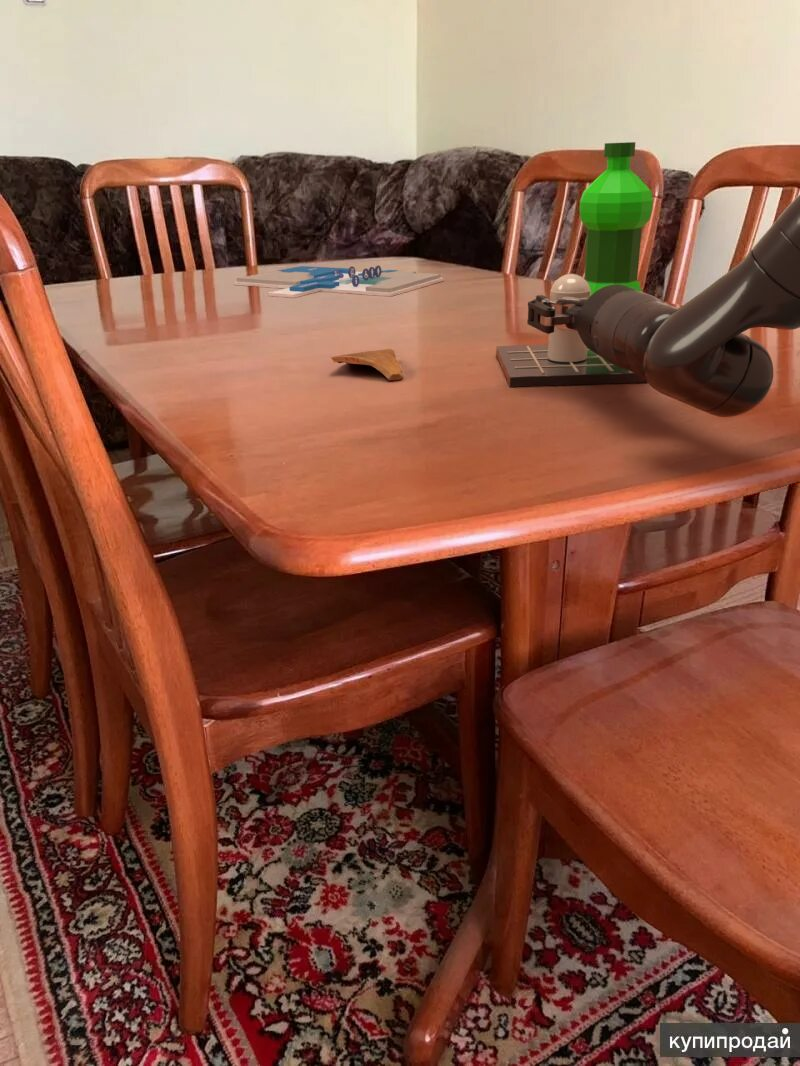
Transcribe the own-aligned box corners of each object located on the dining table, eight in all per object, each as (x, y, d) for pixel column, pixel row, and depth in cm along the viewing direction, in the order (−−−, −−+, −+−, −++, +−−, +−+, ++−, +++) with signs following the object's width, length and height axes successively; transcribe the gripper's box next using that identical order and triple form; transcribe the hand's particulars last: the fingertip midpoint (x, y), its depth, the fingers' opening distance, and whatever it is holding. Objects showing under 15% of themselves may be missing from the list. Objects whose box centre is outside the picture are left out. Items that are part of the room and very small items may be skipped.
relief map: (366, 303, 149) (365, 283, 148) (206, 290, 169) (204, 272, 168) (449, 279, 172) (449, 261, 170) (299, 270, 192) (298, 254, 190)
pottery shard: (400, 382, 100) (400, 362, 99) (326, 381, 101) (324, 361, 100) (413, 361, 109) (413, 342, 108) (345, 360, 110) (344, 341, 109)
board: (616, 351, 110) (617, 341, 110) (648, 382, 96) (649, 371, 95) (496, 354, 110) (496, 345, 110) (509, 387, 96) (510, 375, 95)
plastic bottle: (636, 315, 131) (650, 141, 121) (645, 328, 122) (662, 141, 111) (571, 315, 132) (580, 143, 122) (576, 329, 123) (586, 144, 112)
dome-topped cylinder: (582, 352, 104) (587, 270, 100) (590, 361, 100) (595, 276, 96) (544, 353, 105) (547, 271, 100) (550, 362, 100) (554, 277, 96)
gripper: (697, 286, 84) (631, 265, 98) (563, 295, 82) (515, 272, 96) (689, 359, 87) (626, 329, 102) (559, 369, 85) (514, 337, 100)
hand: (572, 301), depth 99 cm, fingers open, 8 cm apart
